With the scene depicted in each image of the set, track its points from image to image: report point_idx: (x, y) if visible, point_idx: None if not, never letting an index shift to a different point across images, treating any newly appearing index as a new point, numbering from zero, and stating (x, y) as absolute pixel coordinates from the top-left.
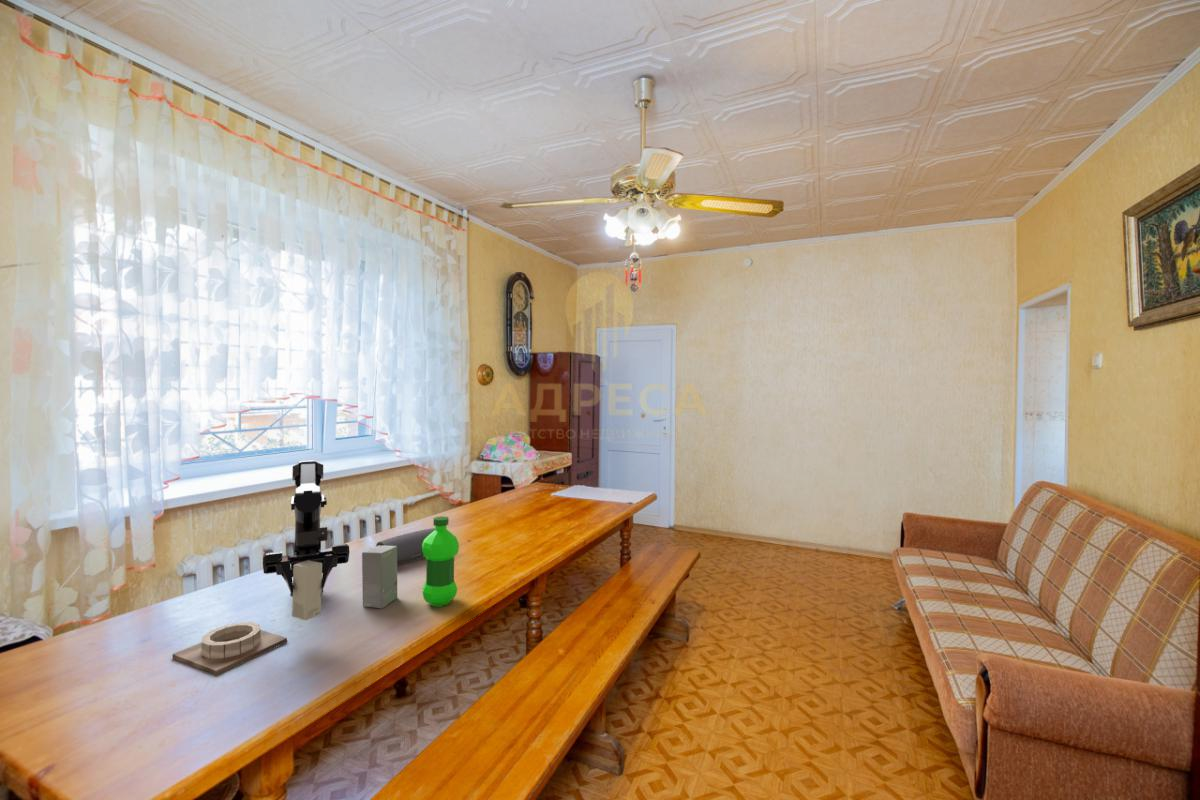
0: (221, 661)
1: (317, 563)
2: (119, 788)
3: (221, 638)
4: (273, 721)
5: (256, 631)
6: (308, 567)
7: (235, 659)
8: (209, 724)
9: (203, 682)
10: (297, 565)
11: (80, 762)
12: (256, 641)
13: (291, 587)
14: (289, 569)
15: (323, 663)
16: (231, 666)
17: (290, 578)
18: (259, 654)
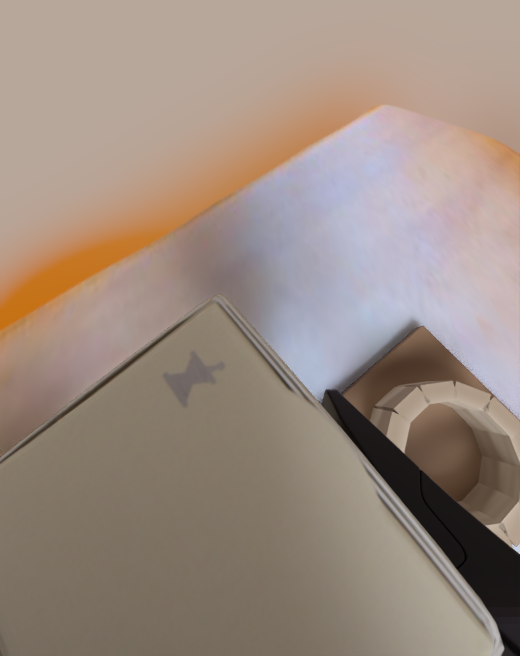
0: (427, 364)
1: (28, 491)
2: (431, 119)
3: (478, 498)
4: (295, 162)
5: (391, 437)
6: (206, 313)
7: (399, 361)
8: (376, 187)
9: (430, 311)
10: (407, 540)
11: (504, 174)
12: (375, 420)
13: (343, 405)
14: (491, 603)
15: (226, 286)
16: (398, 344)
17: (387, 466)
18: (353, 383)
